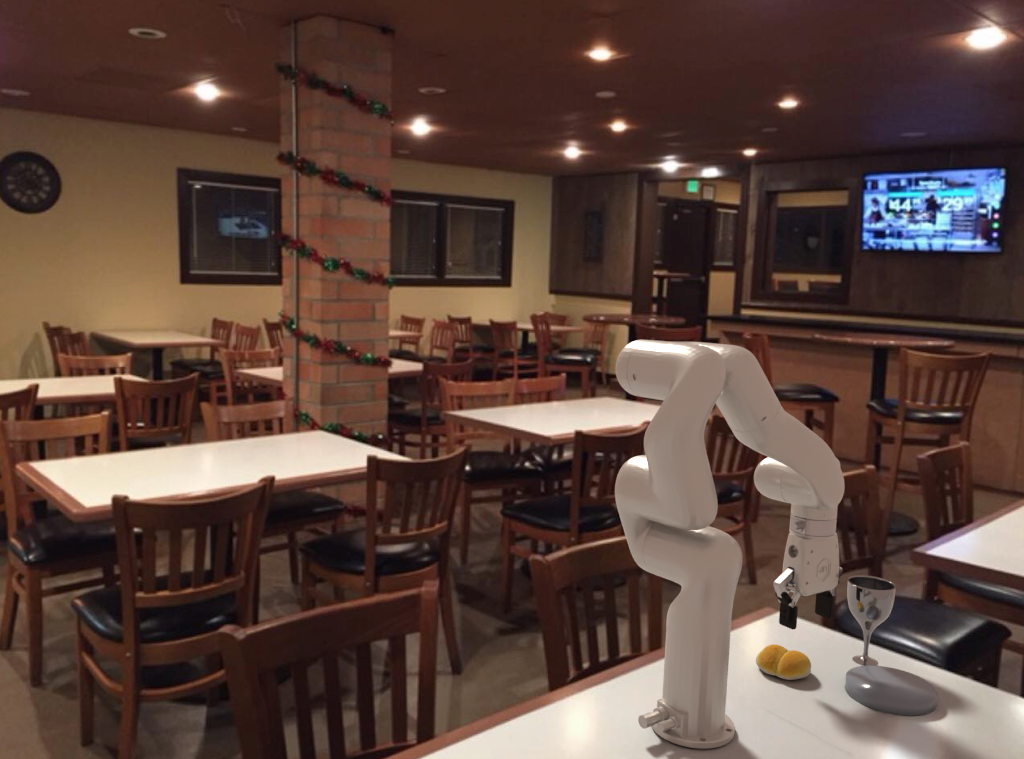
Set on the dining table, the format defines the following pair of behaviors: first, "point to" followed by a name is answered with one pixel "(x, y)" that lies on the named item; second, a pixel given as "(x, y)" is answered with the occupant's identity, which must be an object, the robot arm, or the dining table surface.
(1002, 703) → the dining table surface
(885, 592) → the wine glass
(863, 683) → the plate
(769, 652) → the bread roll
